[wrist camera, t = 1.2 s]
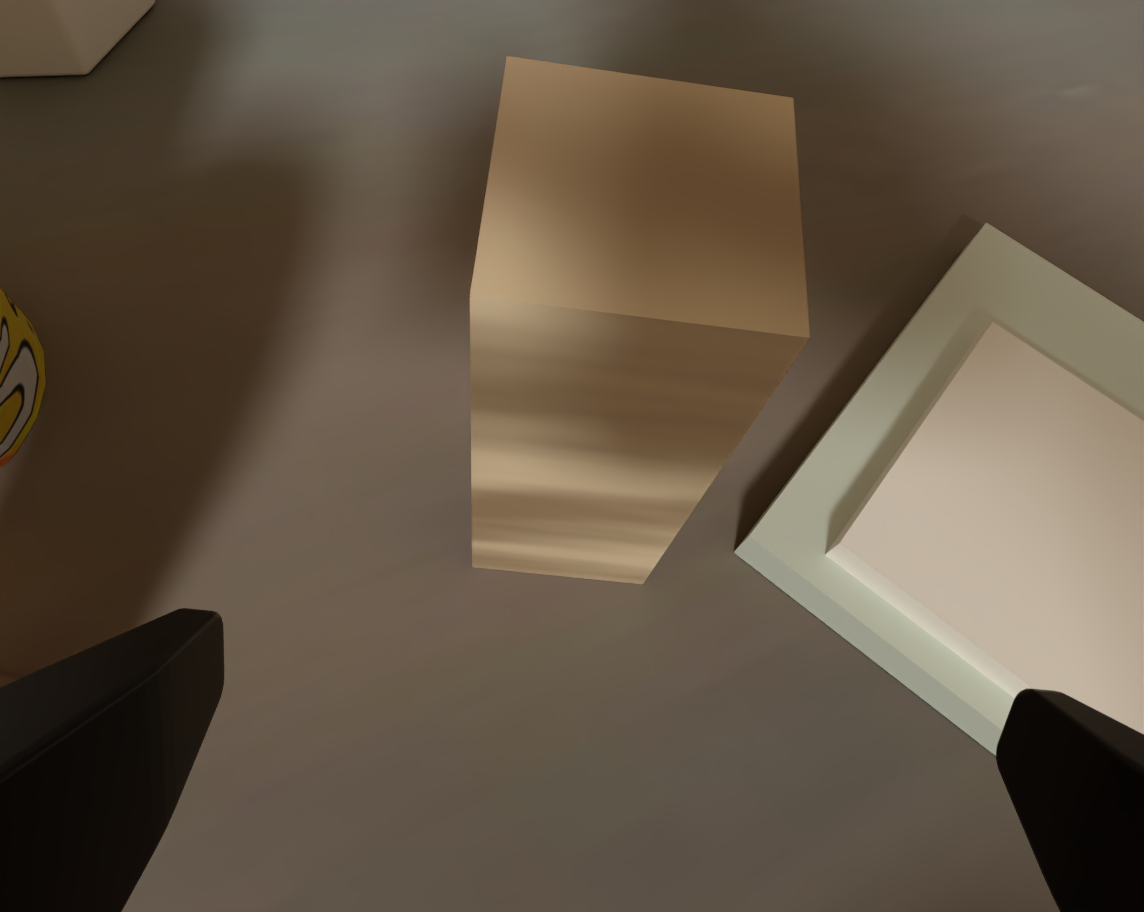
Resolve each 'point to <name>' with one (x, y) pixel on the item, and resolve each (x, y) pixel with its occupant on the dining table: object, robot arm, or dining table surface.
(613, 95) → the pillar block
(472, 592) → the dining table surface
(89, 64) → the jar
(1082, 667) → the board
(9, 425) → the beverage can
